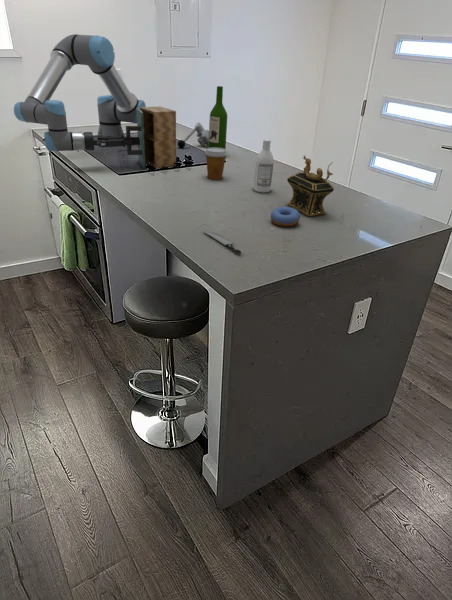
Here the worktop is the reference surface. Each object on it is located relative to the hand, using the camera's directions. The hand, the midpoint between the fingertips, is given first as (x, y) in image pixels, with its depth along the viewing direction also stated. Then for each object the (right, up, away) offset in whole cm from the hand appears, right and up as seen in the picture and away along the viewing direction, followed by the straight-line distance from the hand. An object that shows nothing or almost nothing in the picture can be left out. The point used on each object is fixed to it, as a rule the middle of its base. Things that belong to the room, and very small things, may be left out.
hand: (139, 140), depth 191 cm
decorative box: (+69, -38, -31) cm, 85 cm away
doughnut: (+59, -44, -42) cm, 85 cm away
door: (-4, -8, +9) cm, 13 cm away
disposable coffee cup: (+34, -17, 0) cm, 37 cm away
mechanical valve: (+22, +14, +49) cm, 55 cm away
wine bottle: (+34, +6, +36) cm, 49 cm away
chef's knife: (+38, -53, -60) cm, 89 cm away
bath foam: (+53, -25, -12) cm, 60 cm away
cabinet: (+6, -5, +15) cm, 17 cm away
